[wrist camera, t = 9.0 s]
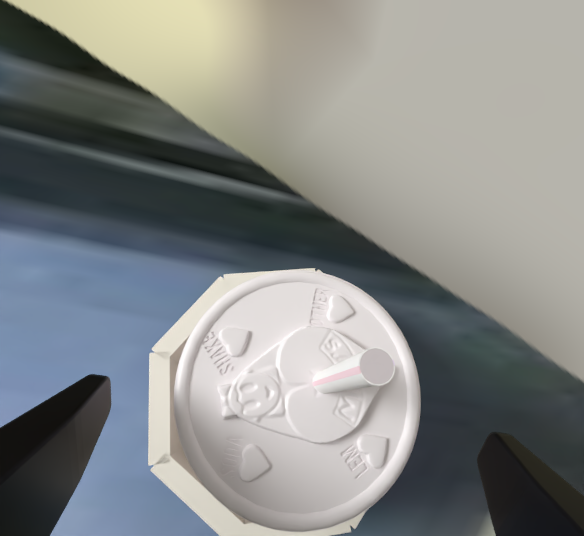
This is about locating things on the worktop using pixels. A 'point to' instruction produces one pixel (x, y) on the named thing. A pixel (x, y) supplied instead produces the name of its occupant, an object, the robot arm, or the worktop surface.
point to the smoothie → (297, 401)
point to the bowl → (164, 435)
